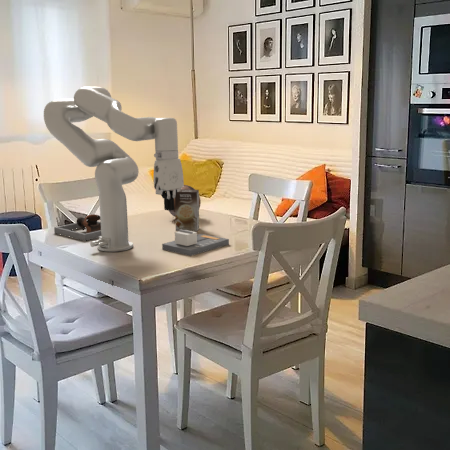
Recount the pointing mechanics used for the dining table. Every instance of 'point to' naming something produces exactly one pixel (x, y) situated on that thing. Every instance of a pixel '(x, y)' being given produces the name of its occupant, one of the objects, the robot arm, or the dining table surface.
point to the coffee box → (187, 210)
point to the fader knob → (185, 237)
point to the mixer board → (197, 245)
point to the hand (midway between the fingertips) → (169, 209)
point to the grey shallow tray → (67, 231)
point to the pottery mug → (89, 223)
